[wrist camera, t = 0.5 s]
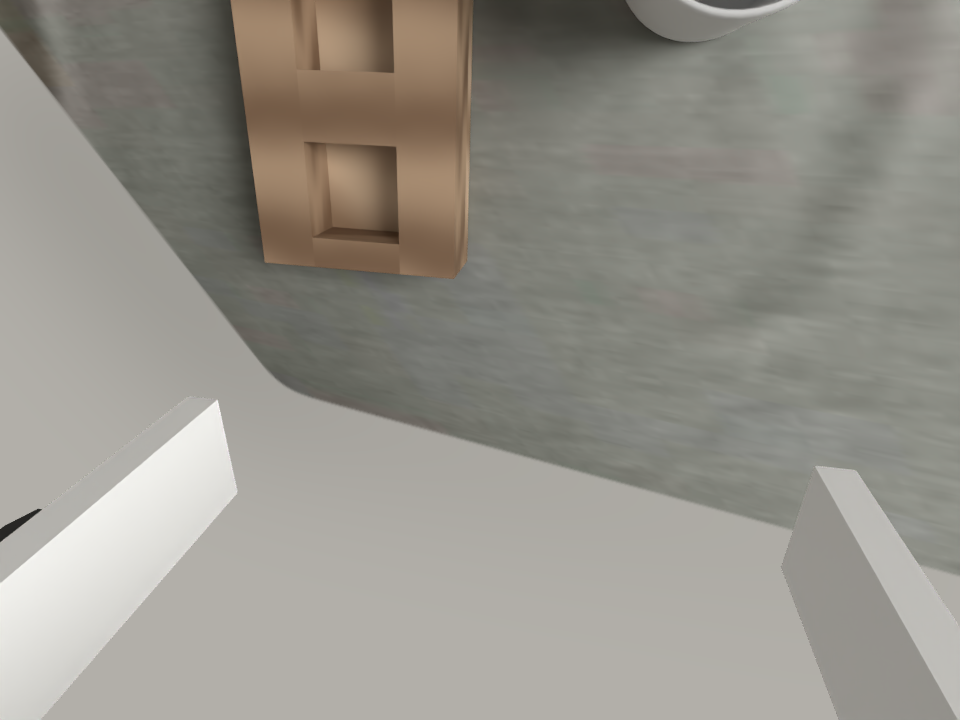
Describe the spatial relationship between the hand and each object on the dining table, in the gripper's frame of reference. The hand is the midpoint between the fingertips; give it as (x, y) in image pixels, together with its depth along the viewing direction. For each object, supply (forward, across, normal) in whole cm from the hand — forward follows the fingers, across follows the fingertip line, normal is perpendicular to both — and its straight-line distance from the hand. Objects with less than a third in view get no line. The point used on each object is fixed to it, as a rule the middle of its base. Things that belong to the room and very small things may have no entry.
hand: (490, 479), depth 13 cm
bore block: (+26, -12, +6) cm, 29 cm away
